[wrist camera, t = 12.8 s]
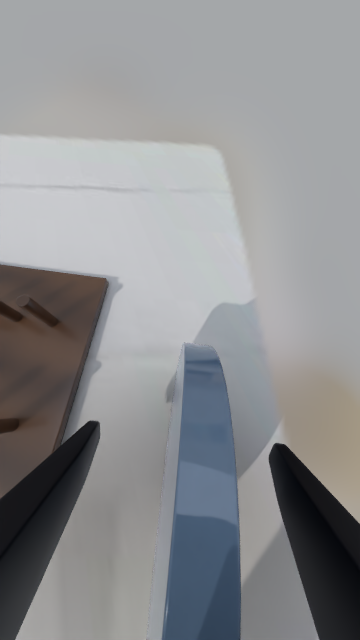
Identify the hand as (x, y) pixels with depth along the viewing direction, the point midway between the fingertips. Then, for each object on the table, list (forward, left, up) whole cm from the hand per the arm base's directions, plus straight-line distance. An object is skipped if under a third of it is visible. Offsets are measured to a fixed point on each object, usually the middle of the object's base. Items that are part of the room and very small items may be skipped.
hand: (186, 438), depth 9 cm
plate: (-1, -1, -6) cm, 6 cm away
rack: (-10, +11, -6) cm, 16 cm away
